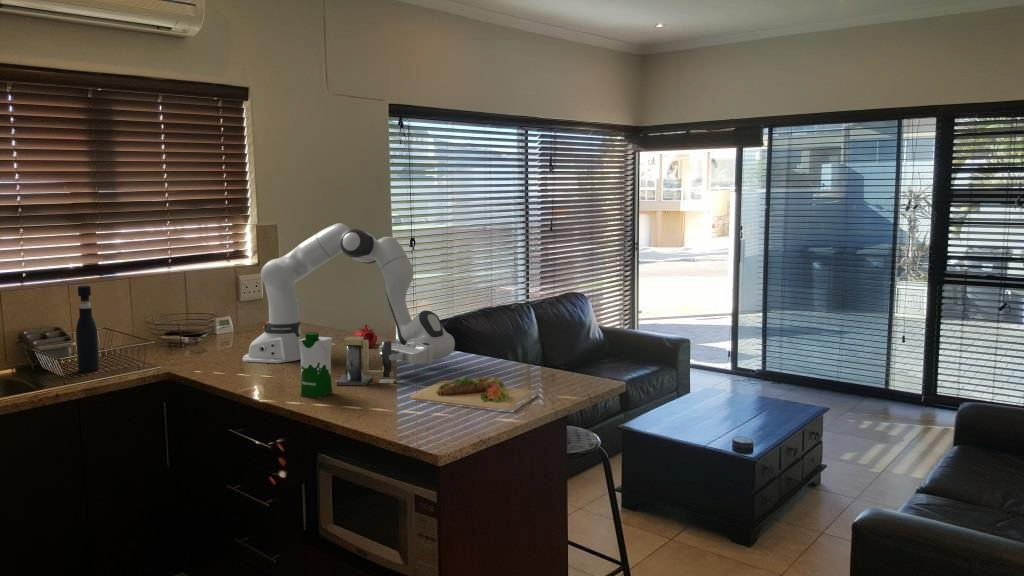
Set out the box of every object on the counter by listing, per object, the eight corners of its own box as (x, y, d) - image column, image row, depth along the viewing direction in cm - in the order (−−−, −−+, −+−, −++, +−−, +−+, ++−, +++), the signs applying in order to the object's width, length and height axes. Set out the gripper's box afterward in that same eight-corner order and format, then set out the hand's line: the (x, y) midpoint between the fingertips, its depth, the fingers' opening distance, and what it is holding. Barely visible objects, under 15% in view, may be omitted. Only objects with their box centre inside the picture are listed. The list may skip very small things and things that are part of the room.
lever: (344, 378, 251) (343, 339, 249) (347, 374, 256) (347, 336, 255) (391, 378, 251) (391, 340, 250) (393, 374, 257) (393, 336, 255)
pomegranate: (349, 347, 310) (348, 325, 309) (360, 343, 319) (360, 322, 318) (370, 349, 307) (370, 327, 306) (381, 345, 316) (381, 323, 315)
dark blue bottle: (103, 369, 266) (98, 286, 262) (86, 373, 260) (81, 288, 257) (91, 367, 269) (86, 284, 265) (74, 371, 263) (69, 286, 259)
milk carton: (296, 396, 235) (295, 333, 232) (313, 389, 243) (312, 329, 241) (320, 399, 232) (319, 335, 230) (336, 392, 240) (335, 330, 238)
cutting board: (538, 396, 241) (539, 374, 240) (511, 416, 220) (512, 391, 219) (442, 385, 254) (442, 363, 253) (407, 402, 232) (407, 378, 232)
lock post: (336, 385, 249) (336, 347, 247) (347, 372, 267) (346, 336, 265) (392, 385, 249) (392, 347, 248) (398, 372, 268) (398, 337, 266)
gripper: (397, 337, 269) (366, 342, 259) (435, 346, 255) (403, 351, 245) (397, 354, 270) (366, 360, 260) (435, 364, 256) (403, 370, 246)
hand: (384, 356), depth 252 cm, fingers closed on lever, 3 cm apart
